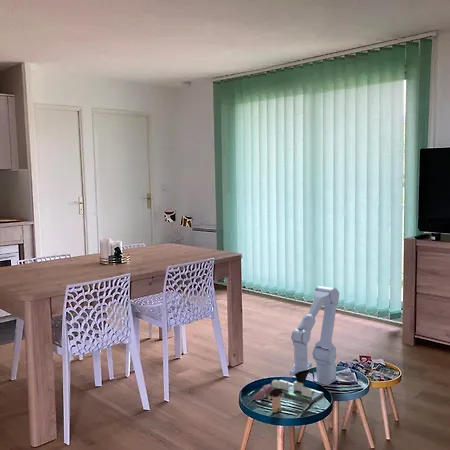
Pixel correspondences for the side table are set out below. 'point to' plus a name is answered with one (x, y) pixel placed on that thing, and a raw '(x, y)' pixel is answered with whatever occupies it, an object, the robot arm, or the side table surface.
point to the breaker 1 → (283, 384)
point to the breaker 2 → (306, 391)
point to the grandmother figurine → (276, 396)
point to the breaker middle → (298, 386)
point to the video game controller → (263, 392)
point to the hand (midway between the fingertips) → (301, 386)
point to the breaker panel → (298, 394)
